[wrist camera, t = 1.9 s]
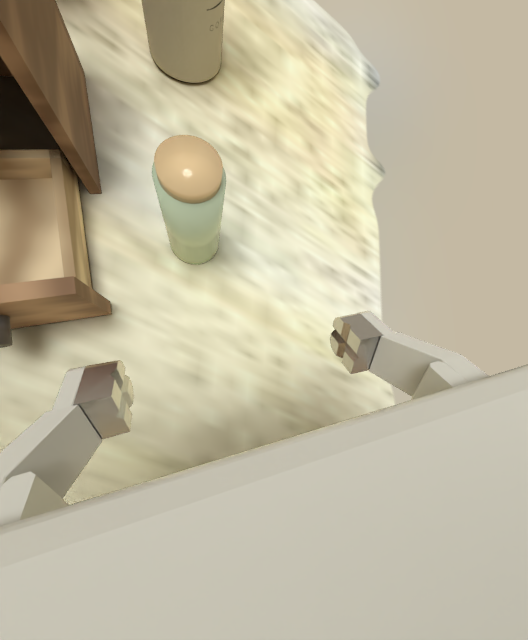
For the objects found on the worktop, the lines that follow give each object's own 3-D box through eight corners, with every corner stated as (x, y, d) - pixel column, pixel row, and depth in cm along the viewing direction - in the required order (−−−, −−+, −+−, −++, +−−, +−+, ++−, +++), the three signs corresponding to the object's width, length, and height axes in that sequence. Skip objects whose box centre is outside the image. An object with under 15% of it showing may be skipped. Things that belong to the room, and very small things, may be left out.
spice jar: (174, 267, 26) (155, 200, 16) (166, 222, 27) (143, 130, 16) (221, 261, 28) (233, 196, 17) (213, 219, 28) (219, 131, 18)
